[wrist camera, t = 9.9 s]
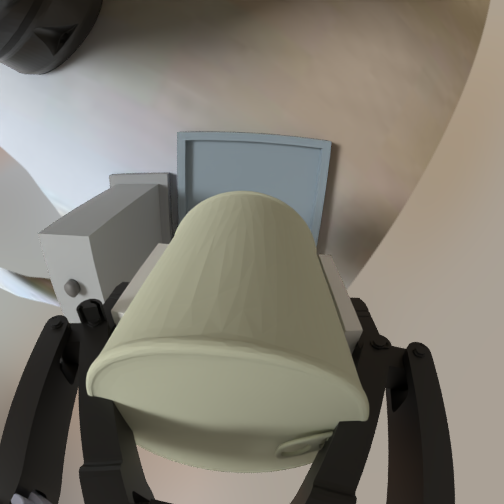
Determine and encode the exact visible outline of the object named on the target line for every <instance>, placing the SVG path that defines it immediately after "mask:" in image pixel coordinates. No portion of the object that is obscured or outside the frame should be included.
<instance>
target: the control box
mask: <svg viewBox="0 0 504 504" xmlns="http://www.w3.org/2000/svg"><path fill="white" fill-rule="evenodd" d="M109 180H110V188H109V189H108V190H106V191H104V192H102V193H101V194H99V195H97V196H95V197H94V198H92V199H90V200H89V201H87V202H85V203H84V204H82V205H80V206H79V207H77V208H75V209H74V210H72V211H71V212H69V213H68V214H66V215H64V216H63V217H61V218H60V219H58V220H57V221H55V222H54V223H52V224H51V225H49V226H48V227H47V228H45V229H44V230H42V231H41V232H40V233H38V236H39V240H40V245H41V248H42V252H43V256H44V259H45V262H46V266H47V269H48V273H49V276H50V279H51V282H52V285H53V288H54V291H55V293H56V296H57V299H58V301H59V304H60V307H61V309H62V312H63V314H64V316H65V317H66V318H67V319H68V322H70V323H81V321H80V318H79V316H78V313H77V311H76V309H77V306H78V305H79V304H80V303H81V302H83V301H85V300H88V299H98V300H100V301H101V302H102V304H104V303H105V301H106V300H107V298H109V296H110V294H111V293H112V291H113V290H114V289H115V287H116V286H118V285H119V284H120V283H122V282H131V280H132V279H133V277H134V276H135V275H136V273H137V272H138V270H139V269H140V268H141V266H142V265H143V264H144V262H145V261H146V259H147V258H148V257H149V255H150V254H151V253H152V251H153V250H154V249H155V247H156V246H157V245H158V243H160V244H170V242H171V241H172V239H173V236H172V221H171V200H170V173H127V174H112V175H110V176H109Z"/></svg>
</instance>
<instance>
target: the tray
mask: <svg viewBox="0 0 504 504" xmlns="http://www.w3.org/2000/svg"><path fill="white" fill-rule="evenodd" d="M330 151H331V141H327V140H320V139H312V138H304V137H296V136H286V135H275V134H262V133H245V132H210V131H195V132H177V187H178V217H179V224H180V223H181V221H182V220H183V218H184V217H185V216H186V215H187V213H188V212H189V211H190V210H191V209H193V208H194V207H195V206H196V205H198V204H199V203H201V202H202V201H204V200H206V199H208V198H210V197H212V196H215V195H218V194H221V193H225V192H231V191H253V192H259V193H263V194H266V195H269V196H272V197H274V198H277V199H279V200H281V201H282V202H284V203H286V204H287V205H289V206H290V207H291V208H293V209H294V210H295V211H296V212H297V213H298V214H299V215H300V216H301V217H302V218H303V220H304V221H305V222H306V224H307V226H308V227H309V229H310V231H311V233H312V235H313V238H314V241H315V245H316V247H317V241H318V235H319V229H320V223H321V217H322V211H323V204H324V197H325V190H326V183H327V176H328V168H329V160H330Z"/></svg>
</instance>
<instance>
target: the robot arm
mask: <svg viewBox="0 0 504 504" xmlns="http://www.w3.org/2000/svg"><path fill="white" fill-rule="evenodd" d="M101 4H102V0H0V62H1V63H3V64H4V65H6V66H8V67H10V68H12V69H14V70H16V71H18V72H19V73H22V74H43V73H46V72H49V71H51V70H53V69H54V68H56V67H58V66H59V65H60V64H62V63H63V62H64V61H65V60H66V59H67V58H68V57H69V56H70V55H71V54H72V53H73V52H74V51H75V50H76V49H77V48H78V47H79V45H80V44H81V43H82V41H83V40H84V39H85V37H86V36H87V34H88V33H89V31H90V29H91V28H92V26H93V24H94V22H95V20H96V18H97V16H98V13H99V11H100V7H101ZM168 245H169V244H160V243H158V245H157V246H156V247H155V249H154V250H153V251H152V253H151V254H150V255H149V257H148V258H147V259H146V261H145V262H144V264H143V265H142V266H141V268H140V269H139V270H138V272H137V273H136V275H135V276H134V277H133V279H132V280H131V282H122V283H120V284H119V285H118V286H116V287H115V289H114V290H113V291H112V293H111V294H110V296H109V298H107V300H106V301H105V303H104V304H102V302H101V301H100V300H98V299H88V300H85V301H83V302H81V303H80V304H79V305H78V306H77V309H76V311H77V313H78V316H79V318H80V321H81V323H69V322H68V319H67V318H66V317H65V316H62V315H58V316H54V317H52V318H51V319H49V320H48V321H47V323H46V324H45V326H44V328H43V330H42V332H41V334H40V337H39V338H38V340H37V342H36V345H35V347H34V349H33V351H32V353H31V355H30V358H29V360H28V362H27V365H26V367H25V369H24V372H23V374H22V377H21V380H20V382H19V385H18V387H17V390H16V393H15V396H14V398H13V401H12V404H11V407H10V410H9V414H8V417H7V420H6V424H5V427H4V431H3V435H2V439H1V443H0V504H58V501H59V497H60V491H61V484H62V473H63V463H64V456H65V449H66V442H67V437H68V431H69V426H70V420H71V416H72V411H73V407H74V402H75V398H76V394H77V390H78V388H79V417H80V431H81V441H82V450H83V458H84V464H83V466H81V467H80V469H79V478H80V483H81V489H82V493H83V498H84V503H85V504H171V503H167V502H163V501H158V500H155V498H154V496H153V494H152V491H151V490H150V487H149V486H148V484H147V482H146V479H145V476H144V473H143V469H142V466H141V462H140V458H139V455H138V451H137V447H136V443H135V438H134V434H133V431H132V430H131V428H130V427H129V425H128V424H127V422H126V421H125V419H124V418H123V416H122V415H121V413H120V412H119V410H118V409H117V407H116V405H115V404H114V402H113V400H110V399H106V398H102V397H97V396H90V395H88V393H87V389H86V377H87V372H88V370H89V368H90V366H91V364H92V363H93V362H94V361H95V359H96V358H97V357H98V356H99V354H100V353H101V351H102V350H103V348H104V347H105V345H106V343H107V342H108V340H109V338H110V336H111V335H112V333H113V331H114V330H115V328H116V326H117V325H118V323H119V321H120V320H121V318H122V317H123V315H124V313H125V312H126V310H127V309H128V307H129V305H130V304H131V302H132V301H133V299H134V297H135V296H136V294H137V293H138V291H139V290H140V288H141V286H142V285H143V283H144V282H145V280H146V279H147V277H148V276H149V274H150V272H151V271H152V269H153V268H154V266H155V265H156V263H157V262H158V260H159V259H160V257H161V256H162V254H163V253H164V251H165V250H166V248H167V247H168ZM318 259H319V262H320V265H321V268H322V271H323V274H324V276H325V279H326V282H327V285H328V288H329V290H330V293H331V296H332V299H333V302H334V305H335V308H336V311H337V314H338V317H339V320H340V323H341V325H342V328H343V331H344V334H345V337H346V340H347V343H348V346H349V349H350V352H351V355H352V358H353V362H354V365H355V368H356V371H357V374H358V377H359V380H360V383H361V386H362V388H363V390H364V392H365V394H366V396H367V399H368V402H369V417H368V420H366V421H339V423H338V424H337V426H336V427H335V429H334V430H333V434H332V436H331V437H329V439H328V441H327V440H326V441H325V442H324V443H325V444H324V446H323V448H322V449H321V450H319V451H318V453H317V455H316V457H315V459H314V461H313V463H312V465H311V468H310V470H309V472H308V474H307V475H306V477H305V480H304V481H303V483H302V485H301V487H300V489H299V491H298V493H297V494H296V496H295V497H294V499H293V500H292V502H291V503H290V504H356V499H357V498H356V496H355V491H356V488H357V486H358V483H359V480H360V477H361V475H362V472H363V469H364V466H365V463H366V460H367V457H368V454H369V451H370V448H371V444H372V441H373V437H374V434H375V430H376V426H377V422H378V418H379V414H380V409H381V405H382V401H383V396H384V391H385V388H386V399H387V415H388V443H389V444H388V449H389V455H388V456H389V457H388V458H389V460H388V462H389V463H388V488H387V502H386V504H455V488H454V470H453V459H452V450H451V442H450V435H449V429H448V423H447V417H446V412H445V407H444V402H443V398H442V393H441V389H440V385H439V380H438V377H437V373H436V369H435V365H434V362H433V358H432V355H431V352H430V350H429V349H428V347H426V346H425V345H424V344H422V343H419V342H412V343H410V344H409V345H408V347H407V349H404V348H399V347H394V346H391V343H390V341H389V340H388V339H387V338H386V337H384V336H382V335H379V333H378V330H377V328H376V326H375V324H374V321H373V319H372V318H371V315H370V313H369V312H368V308H367V306H366V304H365V303H364V302H363V301H362V300H361V299H360V298H350V297H349V295H348V293H347V290H346V288H345V286H344V283H343V281H342V279H341V277H340V274H339V272H338V270H337V268H336V265H335V263H334V261H333V259H332V257H331V255H322V254H319V255H318Z"/></svg>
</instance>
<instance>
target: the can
mask: <svg viewBox="0 0 504 504" xmlns="http://www.w3.org/2000/svg"><path fill="white" fill-rule="evenodd" d="M86 389H87V393H88V395H90V396H97V397H102V398H106V399H110V400H113V402H114V404H115V405H116V407H117V409H118V410H119V412H120V413H121V415H122V416H123V418H124V419H125V421H126V422H127V424H128V425H129V427H130V428H131V430H132V431H133V434H134V438H135V443H136V445H138V446H140V447H141V448H143V449H145V450H147V451H149V452H152V453H154V454H156V455H158V456H161V457H163V458H166V459H169V460H172V461H175V462H178V463H182V464H185V465H188V466H193V467H197V468H202V469H207V470H214V471H221V472H235V473H260V472H272V471H279V470H286V469H291V468H296V467H300V466H304V465H307V464H310V463H313V461H314V459H315V457H316V455H317V453H318V451H319V450H321V449H322V448H323V446H324V444H325V443H324V442H325V441H326V440H327V441H328V439H329V437H331V436H332V434H333V430H334V429H335V427H336V426H337V424H338V423H339V421H366V420H368V417H369V402H368V399H367V396H366V394H365V392H364V390H363V388H362V386H361V383H360V380H359V377H358V374H357V371H356V368H355V365H354V362H353V358H352V355H351V352H350V349H349V346H348V343H347V340H346V337H345V334H344V331H343V328H342V325H341V323H340V320H339V317H338V314H337V311H336V308H335V305H334V302H333V299H332V296H331V293H330V290H329V288H328V285H327V282H326V279H325V276H324V274H323V271H322V268H321V265H320V262H319V259H318V257H317V250H316V245H315V241H314V238H313V235H312V233H311V231H310V229H309V227H308V226H307V224H306V222H305V221H304V220H303V218H302V217H301V216H300V215H299V214H298V213H297V212H296V211H295V210H294V209H293V208H291V207H290V206H289V205H287V204H286V203H284V202H282V201H281V200H279V199H277V198H274V197H272V196H269V195H266V194H263V193H259V192H253V191H231V192H225V193H221V194H218V195H215V196H212V197H210V198H208V199H206V200H204V201H202V202H201V203H199V204H198V205H196V206H195V207H194V208H193V209H191V210H190V211H189V212H188V213H187V215H186V216H185V217H184V218H183V220H182V221H181V223H180V224H179V226H178V228H177V230H176V232H175V235H174V238H173V239H172V241H171V242H170V244H169V245H168V247H167V248H166V250H165V251H164V253H163V254H162V256H161V257H160V259H159V260H158V262H157V263H156V265H155V266H154V268H153V269H152V271H151V272H150V274H149V276H148V277H147V279H146V280H145V282H144V283H143V285H142V286H141V288H140V290H139V291H138V293H137V294H136V296H135V297H134V299H133V301H132V302H131V304H130V305H129V307H128V309H127V310H126V312H125V313H124V315H123V317H122V318H121V320H120V321H119V323H118V325H117V326H116V328H115V330H114V331H113V333H112V335H111V336H110V338H109V340H108V342H107V343H106V345H105V347H104V348H103V350H102V351H101V353H100V354H99V356H98V357H97V358H96V359H95V361H94V362H93V363H92V364H91V366H90V368H89V370H88V372H87V377H86Z"/></svg>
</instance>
